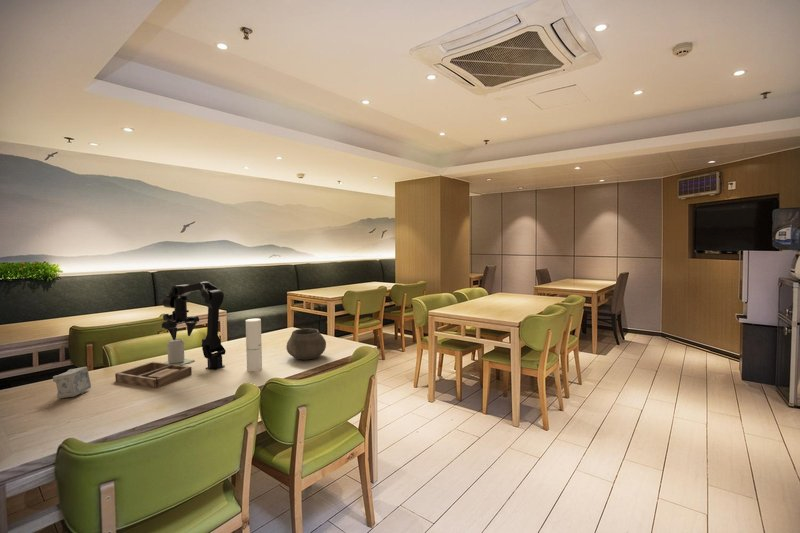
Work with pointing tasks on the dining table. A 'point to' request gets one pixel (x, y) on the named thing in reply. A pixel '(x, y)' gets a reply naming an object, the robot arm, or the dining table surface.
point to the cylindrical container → (253, 344)
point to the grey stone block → (72, 382)
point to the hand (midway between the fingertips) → (181, 337)
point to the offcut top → (162, 373)
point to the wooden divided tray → (144, 380)
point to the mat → (183, 362)
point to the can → (175, 351)
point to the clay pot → (306, 344)
